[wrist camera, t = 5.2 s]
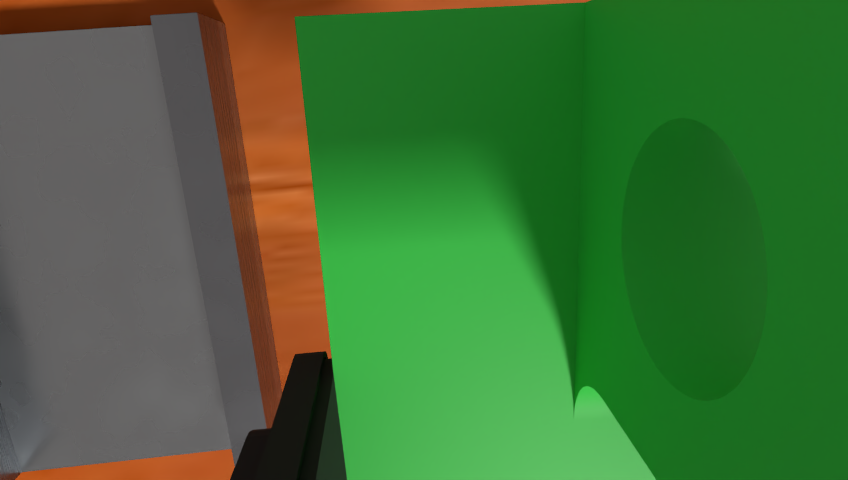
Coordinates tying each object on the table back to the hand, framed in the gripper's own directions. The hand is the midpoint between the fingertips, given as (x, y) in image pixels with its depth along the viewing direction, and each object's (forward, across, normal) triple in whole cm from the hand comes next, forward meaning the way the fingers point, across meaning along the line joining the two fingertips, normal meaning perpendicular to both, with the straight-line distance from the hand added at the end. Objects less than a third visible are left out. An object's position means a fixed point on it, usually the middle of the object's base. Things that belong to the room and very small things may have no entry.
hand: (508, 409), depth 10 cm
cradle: (+14, +14, +1) cm, 20 cm away
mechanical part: (+1, 0, -1) cm, 2 cm away
